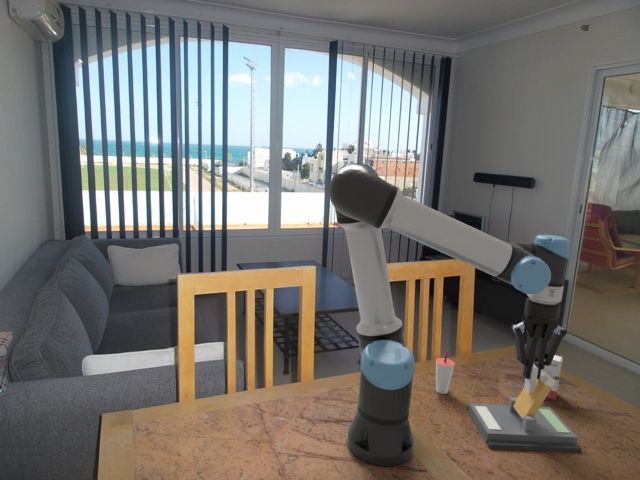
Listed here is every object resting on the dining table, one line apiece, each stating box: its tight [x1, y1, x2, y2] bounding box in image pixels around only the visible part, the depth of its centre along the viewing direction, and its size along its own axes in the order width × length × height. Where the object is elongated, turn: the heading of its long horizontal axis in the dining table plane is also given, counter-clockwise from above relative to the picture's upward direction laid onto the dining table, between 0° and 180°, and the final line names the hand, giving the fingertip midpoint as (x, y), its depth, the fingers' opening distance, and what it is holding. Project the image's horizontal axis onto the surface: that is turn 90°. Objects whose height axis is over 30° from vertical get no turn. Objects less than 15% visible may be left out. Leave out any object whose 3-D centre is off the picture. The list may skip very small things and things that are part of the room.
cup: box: [435, 351, 456, 395], centre depth 131 cm, size 5×5×12 cm
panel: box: [467, 396, 578, 445], centre depth 116 cm, size 22×13×6 cm, turn 91°
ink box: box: [543, 354, 563, 400], centre depth 134 cm, size 9×5×12 cm, turn 58°
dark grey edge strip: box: [487, 442, 582, 453], centre depth 109 cm, size 22×1×1 cm, turn 91°
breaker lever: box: [513, 369, 556, 419], centre depth 115 cm, size 2×6×13 cm, turn 1°
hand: (529, 389), depth 114 cm, fingers closed
